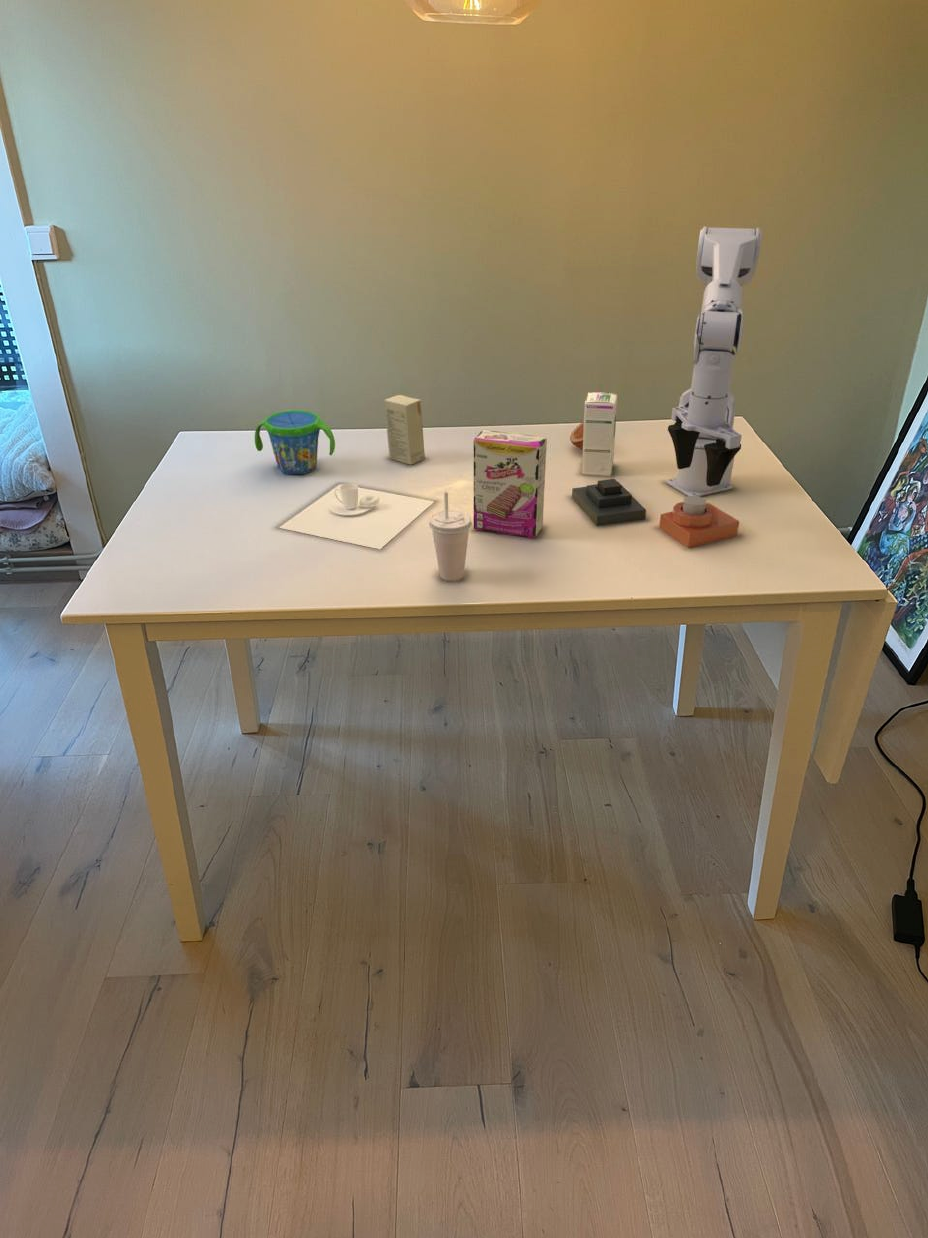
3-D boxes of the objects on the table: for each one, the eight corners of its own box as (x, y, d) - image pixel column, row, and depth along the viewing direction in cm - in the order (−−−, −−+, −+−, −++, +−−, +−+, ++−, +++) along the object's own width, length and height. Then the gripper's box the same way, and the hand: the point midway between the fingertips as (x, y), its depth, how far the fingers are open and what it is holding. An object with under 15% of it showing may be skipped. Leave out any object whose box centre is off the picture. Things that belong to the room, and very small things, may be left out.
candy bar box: (472, 531, 147) (471, 439, 139) (481, 518, 151) (481, 428, 143) (536, 540, 144) (539, 446, 135) (544, 527, 148) (547, 435, 139)
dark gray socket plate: (617, 491, 160) (619, 474, 158) (645, 519, 150) (647, 501, 148) (571, 497, 158) (572, 479, 156) (596, 526, 148) (598, 507, 146)
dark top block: (613, 487, 154) (614, 478, 153) (620, 494, 152) (621, 485, 151) (596, 489, 153) (597, 480, 153) (603, 497, 151) (604, 487, 150)
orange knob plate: (706, 516, 151) (710, 492, 148) (737, 535, 145) (741, 511, 142) (658, 528, 147) (661, 504, 145) (687, 548, 141) (691, 523, 139)
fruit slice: (605, 457, 174) (607, 433, 171) (572, 457, 174) (573, 433, 171) (599, 441, 181) (601, 418, 178) (567, 442, 181) (568, 419, 178)
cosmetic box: (425, 459, 174) (423, 399, 168) (410, 465, 172) (407, 405, 165) (402, 451, 178) (399, 393, 171) (387, 458, 175) (383, 398, 169)
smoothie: (430, 566, 137) (426, 484, 130) (470, 563, 138) (469, 482, 130) (432, 586, 132) (429, 502, 125) (474, 584, 132) (473, 500, 125)
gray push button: (695, 505, 145) (697, 494, 144) (709, 513, 142) (711, 502, 141) (677, 509, 144) (679, 498, 143) (691, 518, 141) (692, 506, 140)
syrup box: (611, 476, 166) (617, 402, 158) (580, 474, 167) (584, 400, 159) (613, 465, 171) (619, 392, 163) (582, 463, 172) (587, 391, 164)
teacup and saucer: (385, 503, 157) (383, 482, 155) (362, 521, 151) (361, 499, 149) (343, 495, 160) (341, 474, 158) (320, 512, 154) (317, 491, 152)
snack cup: (345, 462, 174) (340, 412, 168) (324, 482, 165) (318, 431, 160) (274, 454, 178) (267, 406, 172) (249, 475, 169) (241, 424, 164)
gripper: (659, 383, 137) (651, 464, 144) (719, 411, 126) (706, 497, 133) (696, 377, 139) (686, 457, 146) (757, 404, 128) (743, 489, 135)
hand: (698, 476), depth 140 cm, fingers open, 7 cm apart
